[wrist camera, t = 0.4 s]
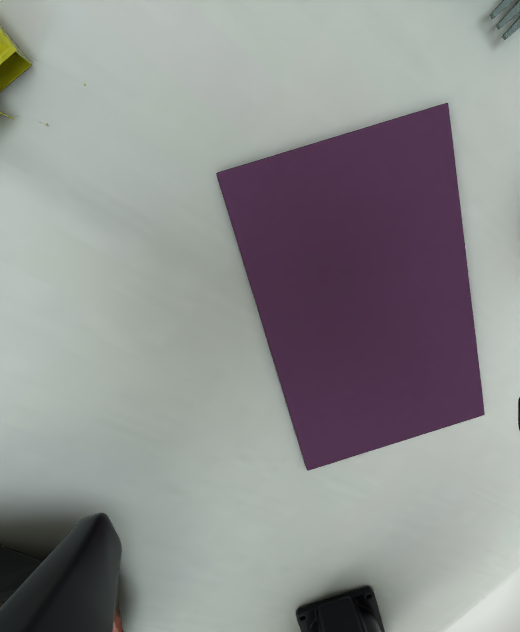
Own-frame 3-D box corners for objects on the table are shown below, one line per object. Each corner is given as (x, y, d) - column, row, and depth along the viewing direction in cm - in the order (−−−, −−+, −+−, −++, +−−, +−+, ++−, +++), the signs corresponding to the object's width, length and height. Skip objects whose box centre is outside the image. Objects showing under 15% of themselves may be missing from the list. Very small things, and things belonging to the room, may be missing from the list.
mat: (480, 411, 25) (485, 415, 24) (305, 466, 25) (307, 471, 24) (442, 105, 19) (448, 102, 19) (216, 174, 19) (216, 173, 18)
